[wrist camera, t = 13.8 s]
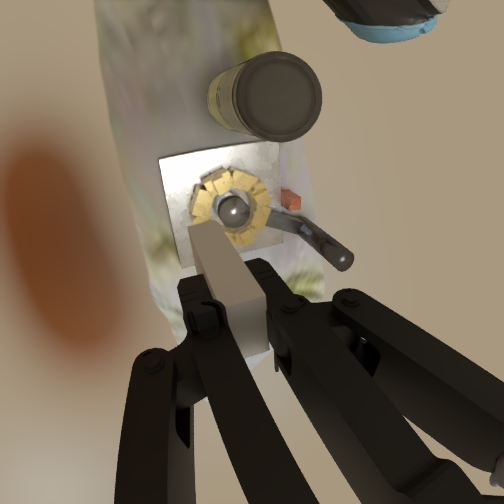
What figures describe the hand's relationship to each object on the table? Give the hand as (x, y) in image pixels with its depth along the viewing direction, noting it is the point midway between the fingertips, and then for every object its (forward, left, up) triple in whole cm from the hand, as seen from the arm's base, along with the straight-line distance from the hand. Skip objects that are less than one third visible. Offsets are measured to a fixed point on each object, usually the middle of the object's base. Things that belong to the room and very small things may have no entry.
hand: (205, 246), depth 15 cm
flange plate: (+9, +9, -29) cm, 32 cm away
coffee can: (-7, +12, -30) cm, 33 cm away
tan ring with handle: (+11, +12, -28) cm, 32 cm away
